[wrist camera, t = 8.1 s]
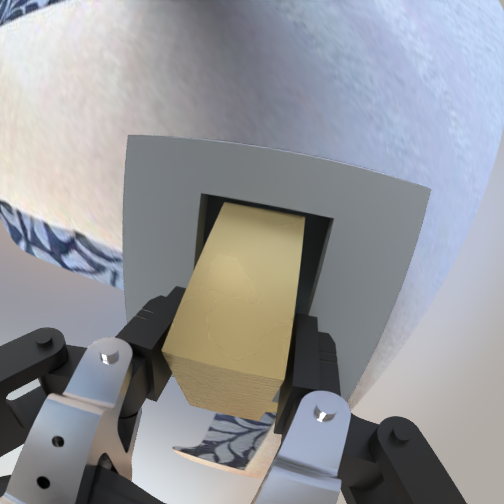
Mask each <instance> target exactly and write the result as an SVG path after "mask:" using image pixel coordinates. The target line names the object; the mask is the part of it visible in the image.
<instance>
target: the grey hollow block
mask: <svg viewBox="0 0 504 504" xmlns="http://www.w3.org/2000/svg"><path fill="white" fill-rule="evenodd" d="M430 192H431V189H429V188H427V187H424V186H421V185H418V184H415V183H412V182H409V181H406V180H403V179H400V178H397V177H394V176H391V175H388V174H385V173H381V172H378V171H375V170H371V169H367V168H364V167H360V166H356V165H352V164H348V163H344V162H339V161H335V160H331V159H326V158H322V157H317V156H312V155H307V154H302V153H297V152H292V151H287V150H281V149H275V148H269V147H263V146H257V145H250V144H243V143H236V142H228V141H220V140H212V139H202V138H189V137H174V136H152V135H128V140H127V150H126V161H125V175H124V193H123V274H124V292H125V306H126V317H127V324H128V323H129V321H130V320H131V319H132V318H133V317H134V316H136V314H137V313H138V312H139V311H140V310H142V307H143V306H144V305H145V304H146V303H147V302H148V301H149V300H151V299H153V298H155V297H157V296H160V295H162V296H165V297H167V296H168V294H169V293H170V292H171V291H172V290H173V289H174V288H175V287H176V286H180V287H184V288H187V286H188V283H189V281H190V279H191V276H192V274H193V272H194V269H195V267H196V265H197V262H198V260H199V258H200V255H201V253H202V251H203V248H204V246H205V244H206V242H207V239H208V237H209V235H210V233H211V230H212V228H213V226H214V224H215V221H216V219H217V217H218V215H219V213H220V210H221V208H222V206H223V204H224V202H227V203H233V204H239V205H244V206H250V207H255V208H261V209H266V210H272V211H277V212H282V213H287V214H292V215H297V216H302V217H305V225H304V235H303V245H302V254H301V263H300V272H299V280H298V288H297V296H296V304H295V312H294V319H293V323H294V320H295V317H296V314H297V313H299V314H304V315H309V316H315V317H317V319H318V331H319V332H325V333H329V334H330V336H331V337H332V339H333V340H334V342H335V343H336V352H337V354H336V356H337V361H338V362H337V364H338V370H339V380H340V391H341V397H342V398H343V399H344V400H345V401H346V402H347V401H348V399H349V398H350V396H351V394H352V392H353V390H354V389H355V387H356V385H357V383H358V381H359V379H360V378H361V376H362V374H363V372H364V370H365V368H366V366H367V364H368V362H369V360H370V358H371V356H372V354H373V352H374V350H375V348H376V346H377V344H378V342H379V339H380V337H381V335H382V333H383V331H384V328H385V326H386V324H387V322H388V319H389V317H390V314H391V312H392V310H393V307H394V305H395V302H396V300H397V297H398V295H399V292H400V290H401V287H402V284H403V282H404V279H405V276H406V273H407V270H408V268H409V265H410V262H411V259H412V256H413V253H414V250H415V246H416V243H417V240H418V237H419V233H420V230H421V226H422V223H423V219H424V216H425V212H426V208H427V204H428V200H429V196H430ZM292 327H293V326H292ZM171 376H172V377H174V375H173V373H172V375H171ZM279 393H280V388H279V390H278V391H277V393H276V395H275V396H274V398H273V400H272V401H271V402H276V403H278V400H279Z"/></svg>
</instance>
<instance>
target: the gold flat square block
mask: <svg viewBox="0 0 504 504" xmlns="http://www.w3.org/2000/svg"><path fill="white" fill-rule="evenodd" d="M304 225H305V217H302V216H297V215H292V214H287V213H282V212H277V211H272V210H266V209H261V208H255V207H250V206H244V205H239V204H233V203H227V202H224V204H223V206H222V208H221V210H220V213H219V215H218V217H217V219H216V221H215V224H214V226H213V228H212V230H211V233H210V235H209V237H208V239H207V242H206V244H205V246H204V248H203V251H202V253H201V255H200V258H199V260H198V262H197V265H196V267H195V269H194V272H193V274H192V276H191V279H190V281H189V283H188V286H187V288H186V291H185V293H184V295H183V298H182V300H181V303H180V305H179V308H178V310H177V313H176V315H175V318H174V320H173V323H172V325H171V328H170V330H169V333H168V335H167V338H166V340H165V343H164V346H163V348H162V353H163V355H164V357H165V359H166V361H167V363H168V365H169V367H170V369H171V371H172V373H173V375H174V377H175V378H176V381H177V382H178V384H179V386H180V388H181V390H182V392H183V393H184V395H185V397H186V399H187V401H188V402H189V404H190V405H192V406H196V407H199V408H203V409H207V410H211V411H215V412H219V413H223V414H227V415H232V416H236V417H241V418H246V419H251V420H256V421H260V419H261V417H262V416H263V414H264V413H265V411H266V409H267V408H268V406H269V405H270V403H271V401H272V400H273V398H274V396H275V395H276V393H277V391H278V390H279V388H280V386H281V385H282V383H283V381H284V378H285V372H286V366H287V360H288V353H289V347H290V340H291V333H292V326H293V319H294V312H295V304H296V296H297V288H298V280H299V272H300V263H301V254H302V245H303V235H304Z"/></svg>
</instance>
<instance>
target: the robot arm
mask: <svg viewBox="0 0 504 504" xmlns="http://www.w3.org/2000/svg"><path fill="white" fill-rule="evenodd" d="M185 291H186V288H184V287H180V286H176V287H175V288H174V289H173V290H172V291H171V292H170V293H169V294H168V296H167V297H165V296H162V295H160V296H157V297H155V298H153V299H151V300H149V301H148V302H147V303H146V304H145V305H144V306H143V307H142V310H140V311H139V312H138V313H137V314H136V316H134V317H133V318H132V319H131V320H130V321H129V323H128V324H127V325H126V326H125V327H124V328H123V329H122V330H121V331H120V332H119V334H118V335H117V336H116V337H115V338H113V337H107V338H101V339H98V340H96V341H94V342H93V343H91V344H90V345H89V347H88V348H83V347H77V346H71V345H66V342H65V339H64V336H63V334H62V333H61V332H60V331H59V330H57V329H54V328H40V329H37V330H35V331H33V332H31V333H28V334H26V335H24V336H22V337H19V338H17V339H15V340H13V341H11V342H8V343H6V344H4V345H2V346H0V457H1V456H3V455H5V454H6V453H8V452H10V451H12V450H14V449H15V448H17V447H19V446H21V445H22V444H24V443H25V444H24V446H23V448H22V451H21V453H20V456H19V458H18V460H17V463H16V465H15V468H14V470H13V473H12V475H7V476H2V477H0V504H165V503H163V502H161V501H160V500H158V499H157V498H155V497H153V496H151V495H150V494H149V493H147V492H146V491H144V490H143V489H141V488H140V487H138V486H137V485H135V484H134V483H133V482H131V481H132V464H131V463H132V462H131V460H132V453H133V449H134V444H135V440H136V435H137V431H138V427H139V422H140V418H141V414H142V408H141V406H142V404H143V403H144V401H145V399H146V398H148V399H150V400H153V401H156V402H157V400H158V398H159V396H160V395H161V393H162V391H163V389H164V387H165V386H166V384H167V382H168V380H169V378H170V377H171V375H172V371H171V369H170V367H169V365H168V363H167V361H166V359H165V357H164V355H163V353H162V348H163V346H164V343H165V340H166V338H167V335H168V333H169V330H170V328H171V325H172V323H173V320H174V318H175V315H176V313H177V310H178V308H179V305H180V303H181V300H182V298H183V295H184V293H185ZM336 354H337V352H336V343H335V342H334V340H333V339H332V337H331V336H330V334H329V333H325V332H319V331H318V319H317V317H315V316H309V315H304V314H299V313H297V314H296V317H295V320H294V323H293V327H292V333H291V340H290V347H289V353H288V360H287V366H286V372H285V378H284V381H283V383H282V385H281V386H280V393H279V400H278V407H277V414H276V421H275V428H274V433H276V434H282V439H281V445H280V447H279V449H278V451H277V453H276V455H275V457H274V459H273V461H272V464H271V466H270V468H269V470H268V472H267V474H266V476H265V478H264V480H263V482H262V484H261V486H260V487H259V489H258V491H257V493H256V495H255V497H254V499H253V500H252V502H251V504H336V502H337V499H338V496H339V493H340V489H341V491H342V493H343V496H344V498H345V500H346V503H347V504H467V503H466V502H465V500H464V498H463V497H462V495H461V493H460V492H459V490H458V489H457V487H456V486H455V484H454V482H453V481H452V479H451V477H450V476H449V474H448V473H447V471H446V470H445V468H444V466H443V465H442V463H441V462H440V460H439V459H438V457H437V456H436V454H435V453H434V451H433V450H432V448H431V447H430V445H429V444H428V442H427V441H426V439H425V438H424V436H423V435H422V433H421V432H420V430H419V429H418V427H417V426H416V425H415V424H414V423H413V422H411V421H410V420H408V419H406V418H403V417H398V416H394V417H389V418H386V419H384V420H383V421H382V422H381V423H380V424H376V423H373V422H369V421H367V420H364V419H361V418H359V417H357V416H355V415H353V414H352V413H351V410H350V407H349V405H348V404H347V402H346V401H345V400H344V399H343V398H342V397H341V391H340V380H339V370H338V364H337V362H338V361H337V356H336ZM37 378H38V380H39V382H40V384H41V386H39V387H37V388H36V389H34V390H32V391H30V392H28V393H26V394H25V395H23V396H21V397H19V398H17V399H15V400H8V399H6V397H7V395H8V394H9V393H11V392H12V391H14V390H16V389H18V388H20V387H22V386H24V385H26V384H28V383H30V382H31V381H33V380H35V379H37Z"/></svg>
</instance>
